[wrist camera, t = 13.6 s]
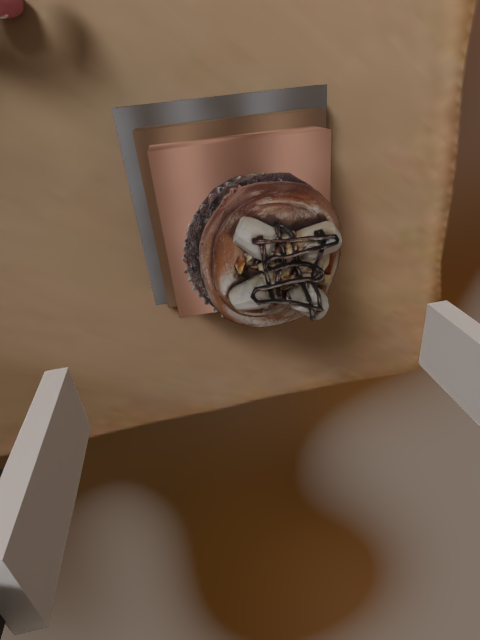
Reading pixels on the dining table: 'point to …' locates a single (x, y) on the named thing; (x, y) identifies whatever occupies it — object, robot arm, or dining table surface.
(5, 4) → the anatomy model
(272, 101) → the stepped pyramid block
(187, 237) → the cupcake
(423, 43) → the dining table surface
